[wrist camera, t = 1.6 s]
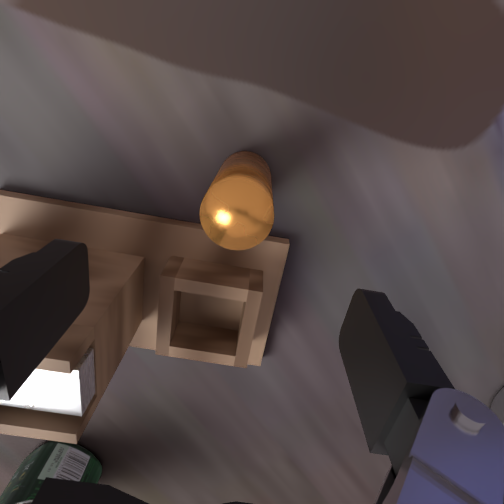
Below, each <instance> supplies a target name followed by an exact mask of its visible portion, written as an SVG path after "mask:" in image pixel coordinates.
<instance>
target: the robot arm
mask: <svg viewBox="0 0 504 504" xmlns="http://www.w3.org/2000/svg"><path fill="white" fill-rule="evenodd" d="M89 293H90V282H89V262H88V249H87V246H86V244H84V243H81V242H75V241H69V240H63V239H54V240H52V241H51V242H50V243H48V244H47V245H46V246H44V247H43V248H41V249H40V250H39V251H37V252H32V253H29V254H26V255H24V256H21V257H18V258H16V259H13V260H11V261H10V262H9V263H7V264H6V265H4V266H3V267H1V268H0V400H4V401H10V400H11V399H12V398H13V396H14V395H15V394H16V393H17V391H18V390H19V389H20V388H21V386H22V385H23V384H24V383H25V381H26V380H27V379H28V378H29V377H30V375H31V374H32V373H33V372H34V370H35V369H36V368H37V367H38V365H39V364H40V363H41V362H42V360H43V359H44V358H45V357H46V356H47V354H48V353H49V352H50V351H51V349H52V348H53V347H54V346H55V344H56V343H57V342H58V341H59V339H60V338H61V337H62V336H63V334H64V333H65V332H66V331H67V330H68V328H69V327H70V326H71V325H72V323H73V322H74V321H75V320H76V318H77V317H78V316H79V315H80V313H81V312H82V311H83V310H84V308H85V306H86V304H87V302H88V298H89ZM421 338H422V337H421V335H420V334H419V332H418V331H417V329H416V327H415V326H414V324H413V323H412V322H410V321H409V320H408V319H407V318H406V317H405V316H404V315H402V314H401V313H400V312H397V311H395V310H394V308H393V306H392V305H391V303H390V301H389V300H388V298H387V296H386V295H385V294H384V293H382V292H376V291H370V290H364V289H357V290H356V291H355V293H354V295H353V297H352V300H351V303H350V305H349V308H348V311H347V313H346V316H345V319H344V322H343V324H342V327H341V330H340V335H339V349H340V353H341V356H342V359H343V363H344V366H345V369H346V373H347V376H348V380H349V383H350V386H351V390H352V393H353V396H354V400H355V403H356V407H357V410H358V413H359V417H360V420H361V424H362V427H363V430H364V434H365V437H366V440H367V444H368V447H369V451H370V453H375V454H382V455H389V458H390V461H391V464H392V465H391V467H390V468H389V470H388V472H387V474H386V476H385V479H384V481H383V483H382V486H381V488H380V490H379V493H378V495H377V497H376V500H375V502H374V504H504V387H503V388H502V389H501V390H500V391H499V392H498V394H497V395H496V396H495V398H494V400H493V402H492V404H491V409H489V408H488V407H487V406H486V405H485V404H483V403H482V402H480V401H479V400H478V399H476V398H474V397H473V396H471V395H469V394H467V393H464V392H462V391H459V390H456V389H455V388H454V387H453V385H452V384H451V382H450V381H449V379H448V377H447V376H446V374H445V373H444V371H443V370H442V368H441V366H440V365H439V363H438V362H437V360H436V359H435V357H434V356H433V354H432V352H431V351H429V348H428V346H427V345H426V343H425V341H424V340H422V339H421ZM16 504H148V503H146V502H144V501H142V500H140V499H138V498H135V497H133V496H131V495H129V494H127V493H125V492H122V491H120V490H118V489H116V488H114V487H112V486H110V485H103V484H96V483H88V482H80V481H72V480H64V479H57V478H49V477H46V478H45V480H44V482H43V483H42V485H41V487H40V489H39V491H38V492H37V494H36V496H35V498H34V500H28V501H24V502H20V503H16ZM224 504H251V503H243V502H230V503H224Z"/></svg>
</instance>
